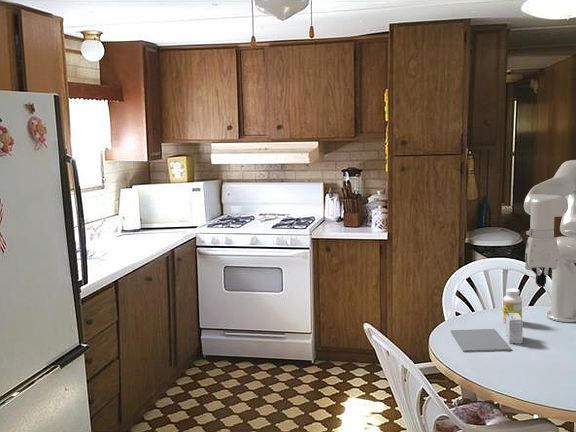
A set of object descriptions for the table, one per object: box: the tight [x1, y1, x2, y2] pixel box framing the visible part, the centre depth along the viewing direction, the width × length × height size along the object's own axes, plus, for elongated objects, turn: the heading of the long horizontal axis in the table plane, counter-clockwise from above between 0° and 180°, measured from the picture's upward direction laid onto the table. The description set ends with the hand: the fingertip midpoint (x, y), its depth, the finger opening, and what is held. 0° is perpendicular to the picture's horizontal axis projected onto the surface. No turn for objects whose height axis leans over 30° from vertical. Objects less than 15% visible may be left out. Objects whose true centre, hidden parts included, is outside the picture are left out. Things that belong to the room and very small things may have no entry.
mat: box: [450, 328, 512, 353], centre depth 217 cm, size 20×16×1 cm
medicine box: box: [505, 313, 524, 345], centre depth 215 cm, size 8×4×9 cm, turn 168°
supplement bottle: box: [502, 287, 523, 324], centre depth 232 cm, size 7×7×13 cm
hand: (540, 285), depth 212 cm, fingers closed
